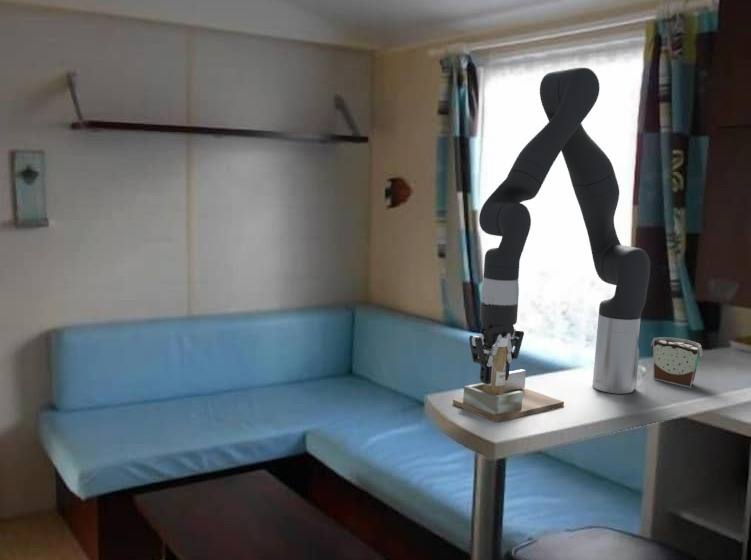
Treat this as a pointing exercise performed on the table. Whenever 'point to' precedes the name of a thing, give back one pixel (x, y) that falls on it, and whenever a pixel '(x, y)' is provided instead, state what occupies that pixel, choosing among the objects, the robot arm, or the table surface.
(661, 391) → the table surface
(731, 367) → the table surface
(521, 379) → the bar
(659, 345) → the food container
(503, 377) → the tan spice jar
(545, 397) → the cradle board
